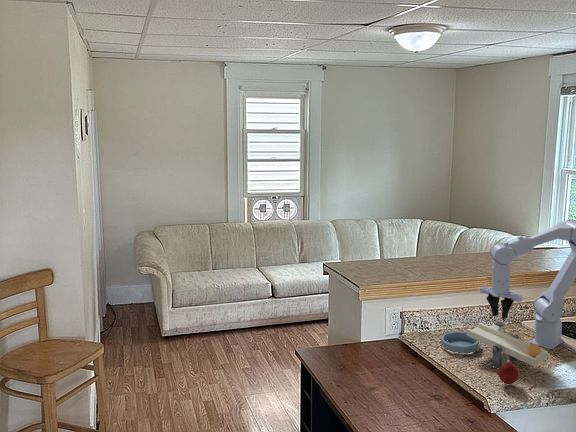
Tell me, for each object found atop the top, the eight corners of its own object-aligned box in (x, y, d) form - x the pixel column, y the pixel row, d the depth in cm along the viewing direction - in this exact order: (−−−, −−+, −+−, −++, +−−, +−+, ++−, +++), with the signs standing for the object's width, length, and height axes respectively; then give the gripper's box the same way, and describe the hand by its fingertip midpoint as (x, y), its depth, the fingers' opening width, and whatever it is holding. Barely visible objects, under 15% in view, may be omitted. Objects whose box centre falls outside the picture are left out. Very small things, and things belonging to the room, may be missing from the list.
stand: (510, 352, 193) (511, 332, 192) (522, 356, 190) (522, 336, 189) (488, 367, 184) (488, 346, 183) (499, 371, 181) (500, 350, 180)
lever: (492, 320, 203) (493, 313, 202) (559, 348, 186) (561, 341, 185) (466, 335, 192) (467, 327, 191) (534, 366, 175) (536, 358, 174)
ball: (528, 348, 182) (533, 339, 180) (540, 356, 180) (545, 347, 178) (522, 353, 180) (527, 343, 178) (534, 361, 177) (539, 351, 175)
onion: (520, 390, 170) (520, 365, 168) (499, 389, 171) (500, 364, 169) (516, 380, 175) (517, 356, 173) (496, 379, 176) (497, 355, 175)
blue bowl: (454, 336, 208) (454, 328, 208) (485, 346, 199) (485, 338, 198) (434, 347, 201) (434, 339, 200) (465, 358, 191) (465, 349, 191)
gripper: (475, 278, 198) (475, 314, 200) (515, 287, 187) (514, 325, 190) (486, 273, 202) (485, 309, 205) (525, 281, 191) (524, 319, 194)
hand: (500, 316), depth 197 cm, fingers open, 3 cm apart
